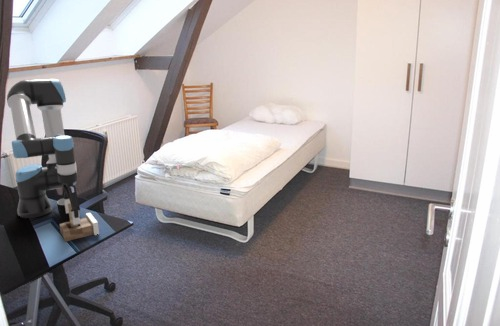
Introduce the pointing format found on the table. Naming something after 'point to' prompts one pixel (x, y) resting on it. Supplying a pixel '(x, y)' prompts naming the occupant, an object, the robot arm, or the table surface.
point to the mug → (63, 211)
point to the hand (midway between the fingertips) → (73, 218)
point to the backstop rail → (93, 223)
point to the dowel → (71, 216)
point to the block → (76, 230)
